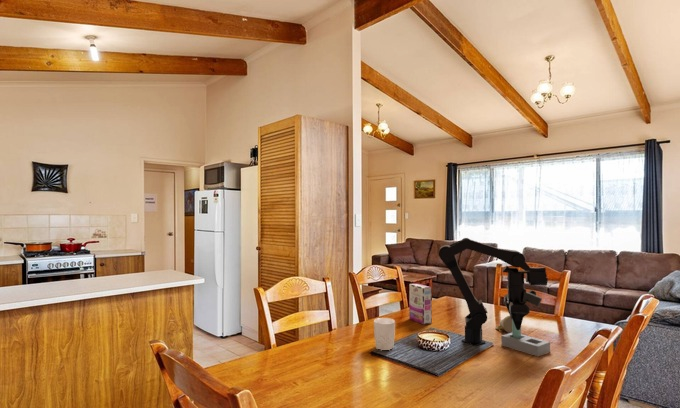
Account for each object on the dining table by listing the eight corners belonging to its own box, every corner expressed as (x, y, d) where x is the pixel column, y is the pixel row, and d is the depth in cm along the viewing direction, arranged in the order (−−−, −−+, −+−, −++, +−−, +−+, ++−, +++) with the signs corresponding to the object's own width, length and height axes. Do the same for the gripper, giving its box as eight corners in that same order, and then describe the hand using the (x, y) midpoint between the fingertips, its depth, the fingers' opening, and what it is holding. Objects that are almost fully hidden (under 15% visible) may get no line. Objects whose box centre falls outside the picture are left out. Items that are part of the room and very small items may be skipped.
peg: (518, 347, 143) (517, 320, 143) (510, 345, 145) (510, 318, 145) (522, 346, 144) (522, 319, 144) (515, 343, 147) (515, 317, 147)
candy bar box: (432, 323, 174) (432, 287, 174) (423, 325, 172) (423, 288, 172) (417, 317, 184) (417, 282, 184) (408, 318, 182) (408, 283, 182)
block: (537, 356, 134) (537, 346, 134) (501, 345, 146) (501, 335, 146) (550, 351, 138) (550, 342, 138) (513, 340, 150) (513, 331, 150)
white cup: (394, 352, 139) (394, 324, 139) (372, 350, 140) (372, 323, 141) (395, 344, 147) (395, 318, 147) (375, 343, 148) (375, 317, 148)
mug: (509, 327, 169) (518, 310, 164) (515, 343, 160) (525, 326, 155) (492, 322, 169) (501, 305, 164) (498, 339, 160) (507, 321, 156)
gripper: (545, 290, 134) (545, 335, 134) (534, 281, 152) (534, 321, 152) (510, 288, 137) (510, 333, 137) (503, 279, 155) (504, 318, 155)
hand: (516, 326), depth 145 cm, fingers open, 9 cm apart
